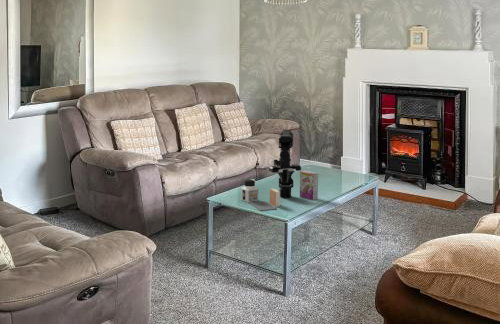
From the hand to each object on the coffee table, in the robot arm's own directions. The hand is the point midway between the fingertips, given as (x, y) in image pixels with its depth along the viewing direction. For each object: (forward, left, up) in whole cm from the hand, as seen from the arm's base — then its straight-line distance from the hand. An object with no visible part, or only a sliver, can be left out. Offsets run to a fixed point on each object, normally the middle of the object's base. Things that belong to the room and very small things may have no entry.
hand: (284, 182), depth 351 cm
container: (+17, -15, -13) cm, 26 cm away
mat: (+14, 0, -13) cm, 19 cm away
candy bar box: (-19, -7, -13) cm, 25 cm away
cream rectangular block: (+7, 0, -13) cm, 15 cm away
